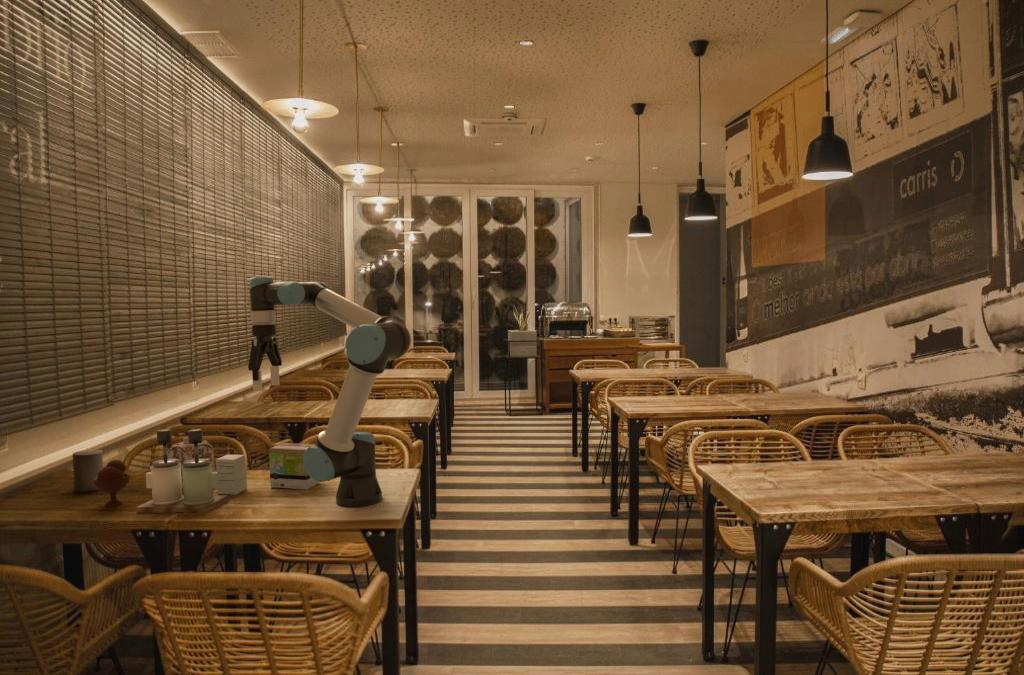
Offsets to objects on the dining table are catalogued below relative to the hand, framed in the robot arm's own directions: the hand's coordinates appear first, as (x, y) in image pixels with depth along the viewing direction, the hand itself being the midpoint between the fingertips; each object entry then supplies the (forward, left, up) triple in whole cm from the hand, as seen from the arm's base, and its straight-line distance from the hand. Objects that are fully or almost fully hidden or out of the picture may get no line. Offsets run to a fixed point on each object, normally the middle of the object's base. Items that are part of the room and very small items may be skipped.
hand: (266, 387), depth 242 cm
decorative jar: (+42, +20, -39) cm, 61 cm away
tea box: (+18, -12, -39) cm, 45 cm away
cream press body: (+16, +30, -37) cm, 50 cm away
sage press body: (+10, +22, -37) cm, 44 cm away
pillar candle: (+60, +53, -39) cm, 89 cm away
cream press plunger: (+16, +30, -24) cm, 42 cm away
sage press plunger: (+10, +22, -24) cm, 34 cm away
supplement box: (+23, +9, -39) cm, 46 cm away
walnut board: (+13, +26, -39) cm, 48 cm away
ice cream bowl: (+30, +46, -39) cm, 67 cm away
